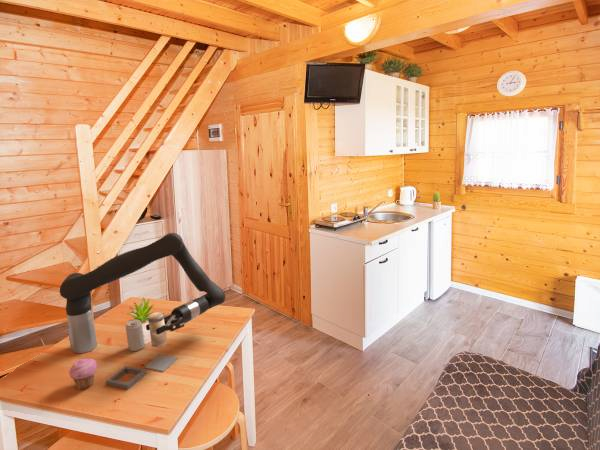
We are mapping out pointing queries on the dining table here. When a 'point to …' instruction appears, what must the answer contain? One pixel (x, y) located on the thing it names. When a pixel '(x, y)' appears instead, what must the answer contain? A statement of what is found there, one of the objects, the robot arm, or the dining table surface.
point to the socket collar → (112, 380)
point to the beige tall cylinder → (154, 323)
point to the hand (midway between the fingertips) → (151, 330)
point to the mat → (161, 363)
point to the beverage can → (135, 335)
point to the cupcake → (83, 372)
